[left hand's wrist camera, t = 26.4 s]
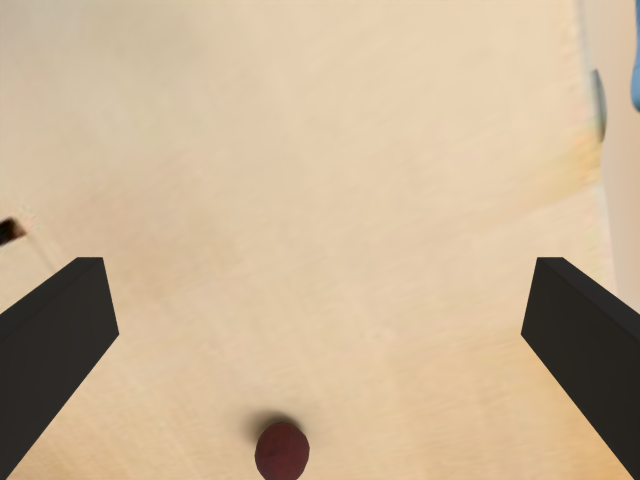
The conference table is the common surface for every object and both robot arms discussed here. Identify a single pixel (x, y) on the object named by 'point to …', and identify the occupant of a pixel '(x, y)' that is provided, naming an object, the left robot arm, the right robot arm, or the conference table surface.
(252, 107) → the conference table surface
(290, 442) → the dark red ball
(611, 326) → the left robot arm
